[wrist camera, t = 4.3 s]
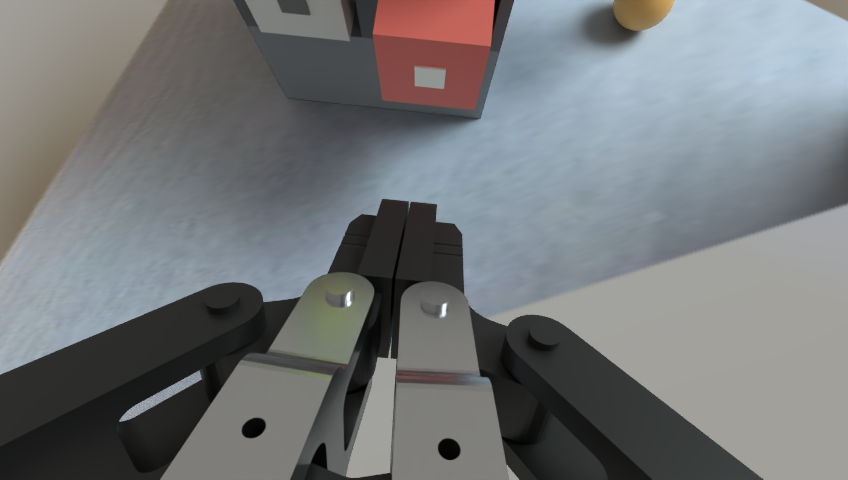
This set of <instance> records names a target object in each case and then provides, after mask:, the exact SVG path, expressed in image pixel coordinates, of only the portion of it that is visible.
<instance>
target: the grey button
mask: <svg viewBox="0 0 848 480" xmlns="http://www.w3.org/2000/svg"><path fill="white" fill-rule="evenodd" d="M245 1H246V3H247V5H248V7H249V9H250V11H251V13H252V15H253V17H254V19H255V21H256V23H257V25H258V27H259V29H260V31H261V32H266V33H276V34H285V35H295V36H305V37H314V38H324V39H333V40H343V41H350V37H351V32H352V26H353V20H354V14H355V9H356V2H355V0H245Z"/></svg>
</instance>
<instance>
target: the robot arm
mask: <svg viewBox="0 0 848 480" xmlns="http://www.w3.org/2000/svg"><path fill="white" fill-rule="evenodd" d="M436 209H437V204H428V203H418V202H411V203H410V208H409V202H408V201H398V200H389V199H382V202H381V205H380V208H379V210H378V213H377V216H373V215H364V214H361V215H360V216H359V217H357V218H356V219H355V220H353V221H352V222H350V224H349V226H348V228H347V231H346V233H345V236H344V237H343V240H342V242H341V245H340V247H339V249H338V251H337V253H336V256H335V258H334V260H333V263H332V265H331V267H330V269H329V272H328V274H326V275H323V276H321V277H318V278H317V279H315V280H314V281H312V282H311V283H310V284H309V286H308V287H307V288H306V290H305V292H304V293H303V295H302V296H301V297H298V298H294V299H288V300H280V301H271V302H263V297H262V294H261V292H260V291H259V290H258V289H257V288H255V287H253V286H251V285H248V284H245V283H234V282H232V283H223V284H218V285H214V286H211V287H208V288H206V289H203V290H201V291H199V292H196V293H194V294H192V295H189V296H187V297H184V298H182V299H180V300H177V301H175V302H173V303H170V304H168V305H165V306H163V307H161V308H158V309H156V310H153V311H151V312H149V313H146V314H144V315H142V316H139V317H137V318H134V319H132V320H130V321H127V322H125V323H123V324H120V325H118V326H115V327H113V328H111V329H108V330H106V331H104V332H101V333H99V334H96V335H94V336H92V337H89V338H87V339H84V340H82V341H80V342H77V343H75V344H73V345H70V346H68V347H65V348H63V349H61V350H58V351H56V352H54V353H51V354H49V355H46V356H44V357H42V358H39V359H37V360H34V361H32V362H30V363H27V364H25V365H23V366H20V367H18V368H15V369H13V370H11V371H8V372H6V373H4V374H1V375H0V480H509V476H508V472H507V466H506V464H507V465H508V466H509V468H510V469H511V470H512V471H513V472H514V474H515V475H516V476H517V477H518V478H519V480H763V479H762V478H761V477H759V476H758V475H757V474H755V473H754V472H753V471H752V470H750V469H749V468H748V467H747V466H745V465H744V464H743V463H741V462H740V461H739V460H737V459H736V458H735V457H734V456H732V455H731V454H730V453H728V452H727V451H726V450H725V449H723V448H722V447H721V446H719V445H718V444H717V443H715V442H714V441H713V440H712V439H710V438H709V437H708V436H706V435H705V434H704V433H703V432H701V431H700V430H699V429H698V428H696V427H695V426H694V425H692V424H691V423H690V422H688V421H687V420H686V419H684V418H683V417H682V416H681V415H679V414H678V413H677V412H676V411H674V410H673V409H671V408H670V407H669V406H668V405H667V404H665V403H664V402H663V401H661V400H660V399H658V397H656V396H655V395H654V394H652V393H651V392H650V391H648V390H647V389H646V388H645V387H643V386H642V385H641V384H639V383H638V382H637V381H635V380H634V379H633V378H632V377H630V376H629V375H628V374H626V373H625V372H624V371H623V370H621V369H620V368H619V367H617V366H616V365H615V364H614V363H612V362H611V361H610V360H608V359H607V358H606V357H605V356H603V355H602V354H601V353H599V352H598V351H597V350H595V349H594V348H593V347H592V346H590V345H589V344H588V343H587V342H585V341H584V340H583V339H581V338H580V337H579V336H578V335H576V334H575V333H574V332H572V331H571V330H570V329H568V328H567V327H566V326H564V325H563V324H561V323H559V322H558V321H556V320H553V319H551V318H548V317H544V316H539V315H525V316H520V317H518V318H516V319H514V320H512V322H510V324H509V325H508V326H505V325H502V324H499V323H496V322H493V321H491V320H488V319H486V318H484V317H482V316H481V315H479V314H478V313H476V312H475V311H474V310H473V309H472V308H471V307H470V306H469V304H468V300H467V298H466V297H465V295H464V279H463V248H462V234H461V232H460V231H459V230H458V228H457V227H456V226H455V224H451V223H441V222H436ZM391 337H392V345H391V358H393V359H397V364H396V377H395V391H394V410H393V426H392V445H391V463H390V473H387V474H381V475H374V476H368V477H361V478H348V477H346V473H347V468H348V464H349V460H350V456H351V453H352V449H353V446H354V443H355V439H356V436H357V433H358V430H359V426H360V423H361V420H362V416H363V413H364V409H365V406H366V402H367V399H368V396H369V393H370V389H371V385H372V376H373V374H374V371H375V367H376V362H377V357H382V358H388V354H389V349H390V343H391ZM199 370H200V374H201V377H202V380H200V381H198V382H197V383H195V384H193V385H191V386H189V387H188V388H186V389H184V390H182V391H181V392H179V393H177V394H175V395H173V396H172V397H170V398H168V399H166V400H164V401H163V402H161V403H159V404H157V405H156V406H154V407H152V408H150V409H148V410H147V411H145V412H143V413H141V414H140V415H138V416H136V417H134V418H132V419H130V420H127V421H122V422H119V420H120V419H121V417H122V416H123V415H124V414H125V413H126V412H127V411H128V410H129V409H130V408H132V407H133V406H135V405H136V404H138V403H140V402H142V401H144V400H145V399H147V398H149V397H151V396H153V395H155V394H156V393H158V392H160V391H162V390H164V389H166V388H167V387H169V386H171V385H173V384H175V383H177V382H179V381H180V380H182V379H184V378H186V377H188V376H190V375H191V374H193V373H195V372H197V371H199Z"/></svg>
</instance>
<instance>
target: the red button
mask: <svg viewBox="0 0 848 480" xmlns="http://www.w3.org/2000/svg"><path fill="white" fill-rule="evenodd" d="M494 2H495V0H378V4H377V10H376V16H375V23H374V29H373V40H374V46H375V53H376V60H377V67H378V73H379V80H380V87H381V94H382V100H384V101H394V102H403V103H413V104H422V105H432V106H441V107H451V108H460V109H469V110H475V108H476V104H477V100H478V96H479V92H480V88H481V84H482V80H483V76H484V72H485V68H486V64H487V60H488V56H489V52H490V48H491V39H492V26H493V14H494Z"/></svg>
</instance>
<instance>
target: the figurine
mask: <svg viewBox="0 0 848 480" xmlns="http://www.w3.org/2000/svg"><path fill="white" fill-rule="evenodd" d="M674 1H675V0H614V3H613V9H614V14H615V17H616V19H617V21H618V22H619V23H620V24H621V25H622V26H623V27H625V28H627V29H630V30H635V31H640V30H646V29H649V28H651V27H653V26H655V25H657V24H658V23H659V22H661V21H662V20H663V19H664V18H665V17H666V16H667V14H668V13H669V12H670V10H671V8H672V6H673V4H674Z"/></svg>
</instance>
